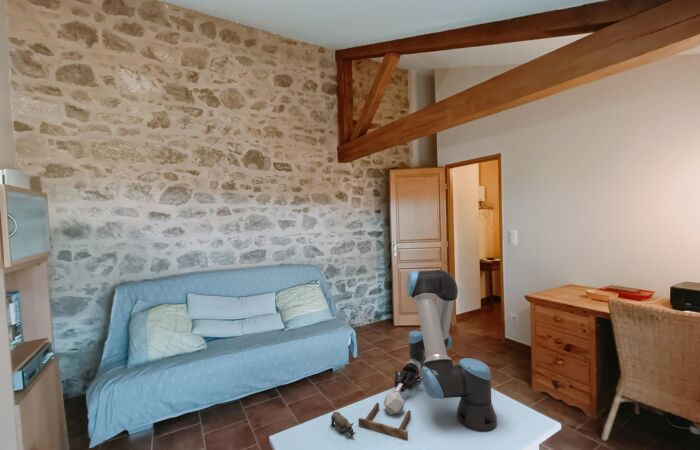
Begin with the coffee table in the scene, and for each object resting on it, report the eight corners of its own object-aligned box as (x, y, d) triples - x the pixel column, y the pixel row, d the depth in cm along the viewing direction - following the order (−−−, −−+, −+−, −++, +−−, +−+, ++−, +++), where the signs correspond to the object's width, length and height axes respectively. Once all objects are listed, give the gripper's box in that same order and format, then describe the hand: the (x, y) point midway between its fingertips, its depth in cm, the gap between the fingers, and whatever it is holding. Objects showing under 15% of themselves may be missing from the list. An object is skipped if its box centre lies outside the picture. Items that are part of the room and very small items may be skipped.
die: (401, 422, 130) (410, 398, 133) (382, 412, 130) (391, 388, 133) (396, 417, 138) (404, 394, 141) (378, 407, 138) (387, 385, 141)
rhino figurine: (351, 443, 118) (350, 427, 118) (328, 426, 128) (328, 411, 128) (359, 438, 120) (358, 422, 120) (336, 421, 131) (336, 407, 131)
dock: (416, 419, 130) (416, 412, 130) (407, 440, 118) (406, 432, 118) (371, 408, 139) (371, 401, 139) (358, 426, 127) (358, 419, 127)
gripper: (424, 379, 157) (411, 405, 136) (399, 374, 163) (383, 398, 142) (424, 364, 157) (410, 388, 136) (399, 360, 163) (382, 382, 142)
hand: (396, 393), depth 139 cm, fingers closed
